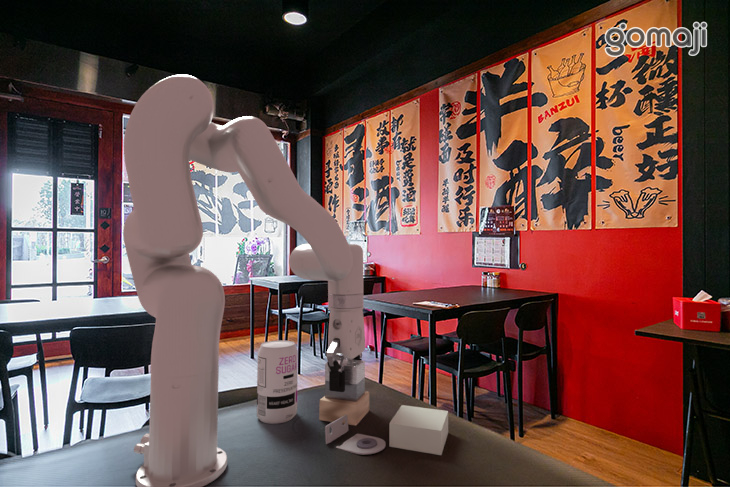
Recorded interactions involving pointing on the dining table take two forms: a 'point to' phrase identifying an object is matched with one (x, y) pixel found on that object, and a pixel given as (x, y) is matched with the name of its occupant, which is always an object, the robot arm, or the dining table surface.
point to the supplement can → (277, 381)
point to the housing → (348, 381)
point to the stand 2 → (419, 429)
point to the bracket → (353, 439)
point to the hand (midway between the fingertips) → (346, 383)
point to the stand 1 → (344, 409)
